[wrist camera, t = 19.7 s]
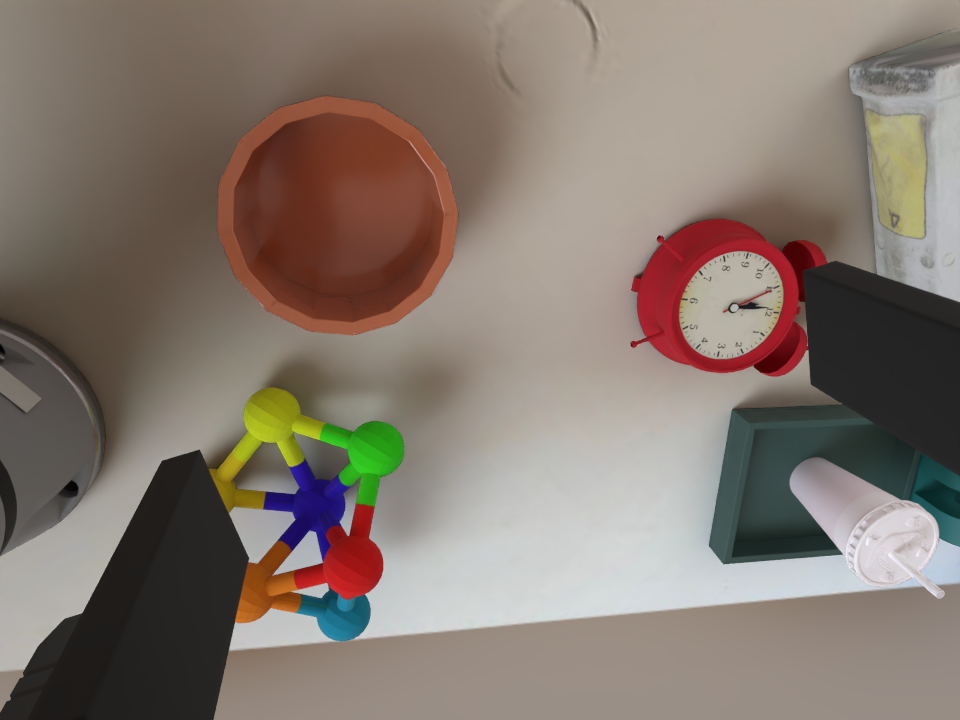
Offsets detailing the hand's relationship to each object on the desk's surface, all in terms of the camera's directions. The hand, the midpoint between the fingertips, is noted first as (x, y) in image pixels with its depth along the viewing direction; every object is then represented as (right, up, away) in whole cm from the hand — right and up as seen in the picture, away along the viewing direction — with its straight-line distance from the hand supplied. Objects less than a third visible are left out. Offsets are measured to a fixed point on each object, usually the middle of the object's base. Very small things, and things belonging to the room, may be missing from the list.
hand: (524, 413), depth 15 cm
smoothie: (+25, -8, +42) cm, 50 cm away
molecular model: (-13, -7, +35) cm, 38 cm away
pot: (-9, +11, +29) cm, 32 cm away
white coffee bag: (+29, +13, +35) cm, 47 cm away
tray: (+25, -8, +42) cm, 50 cm away
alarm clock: (+17, +6, +35) cm, 40 cm away
